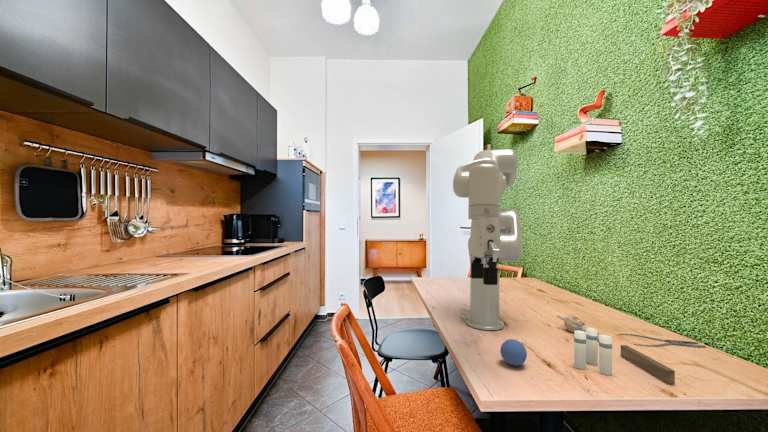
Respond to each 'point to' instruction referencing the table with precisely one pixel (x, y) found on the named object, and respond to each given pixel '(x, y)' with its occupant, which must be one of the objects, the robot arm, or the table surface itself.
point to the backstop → (648, 364)
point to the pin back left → (591, 346)
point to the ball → (513, 352)
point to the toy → (573, 324)
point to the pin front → (580, 349)
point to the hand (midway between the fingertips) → (483, 281)
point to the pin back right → (605, 354)
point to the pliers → (671, 342)
